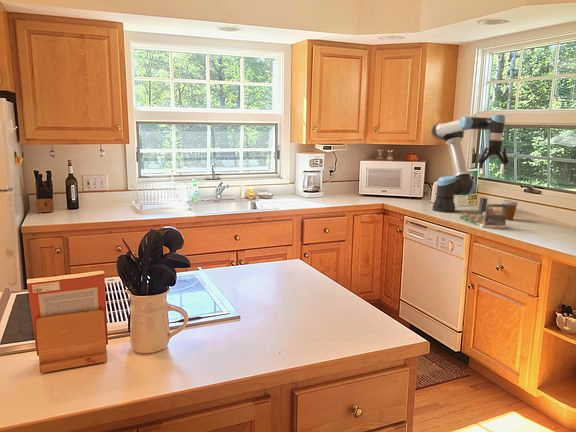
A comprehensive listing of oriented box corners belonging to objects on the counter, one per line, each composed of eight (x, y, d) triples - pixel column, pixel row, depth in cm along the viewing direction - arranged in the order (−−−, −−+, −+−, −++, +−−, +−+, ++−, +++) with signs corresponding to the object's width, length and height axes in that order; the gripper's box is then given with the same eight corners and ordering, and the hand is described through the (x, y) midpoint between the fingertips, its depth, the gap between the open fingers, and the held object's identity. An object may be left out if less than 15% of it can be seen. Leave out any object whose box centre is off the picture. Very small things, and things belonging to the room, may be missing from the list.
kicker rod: (475, 218, 295) (478, 197, 292) (484, 218, 296) (486, 197, 293) (485, 222, 284) (488, 200, 282) (494, 222, 285) (497, 200, 283)
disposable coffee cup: (512, 218, 311) (514, 200, 309) (517, 221, 302) (520, 202, 299) (497, 217, 312) (499, 199, 310) (502, 220, 303) (504, 201, 300)
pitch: (459, 218, 304) (462, 197, 301) (482, 218, 306) (485, 197, 303) (482, 227, 278) (485, 204, 276) (507, 227, 281) (510, 204, 278)
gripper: (480, 139, 291) (476, 174, 295) (517, 140, 295) (513, 175, 299) (474, 139, 298) (470, 172, 302) (510, 140, 302) (505, 173, 306)
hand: (491, 174), depth 301 cm, fingers open, 13 cm apart
